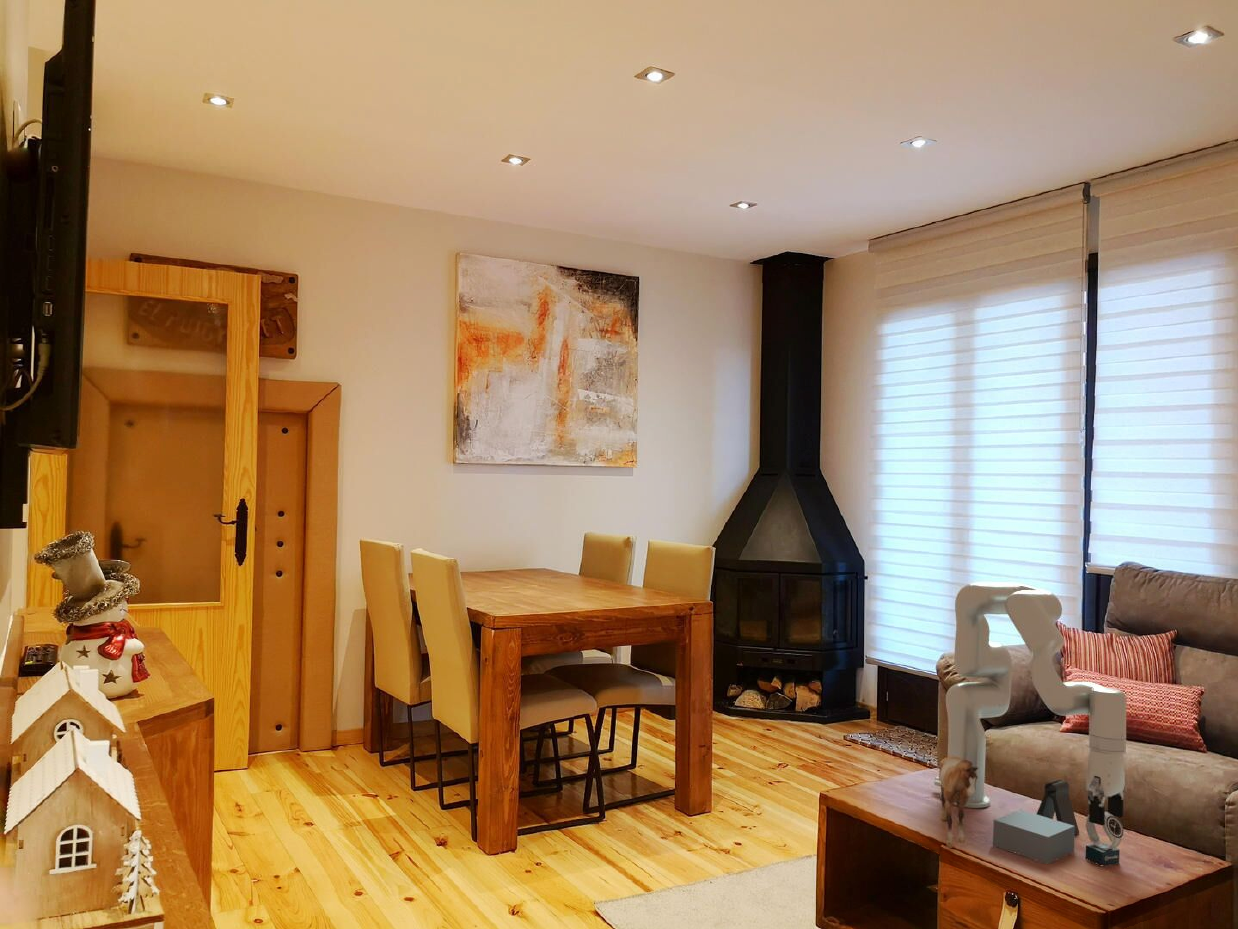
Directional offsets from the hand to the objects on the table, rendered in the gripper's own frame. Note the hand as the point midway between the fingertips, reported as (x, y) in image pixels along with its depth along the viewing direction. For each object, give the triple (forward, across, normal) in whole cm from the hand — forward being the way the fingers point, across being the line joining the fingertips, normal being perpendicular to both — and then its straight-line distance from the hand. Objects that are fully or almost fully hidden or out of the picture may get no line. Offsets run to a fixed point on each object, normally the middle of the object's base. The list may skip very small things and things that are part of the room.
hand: (1106, 819), depth 215 cm
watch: (+10, 0, -1) cm, 10 cm away
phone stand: (+9, -11, -17) cm, 22 cm away
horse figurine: (+9, +11, -28) cm, 31 cm away
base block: (+9, +6, -14) cm, 18 cm away
